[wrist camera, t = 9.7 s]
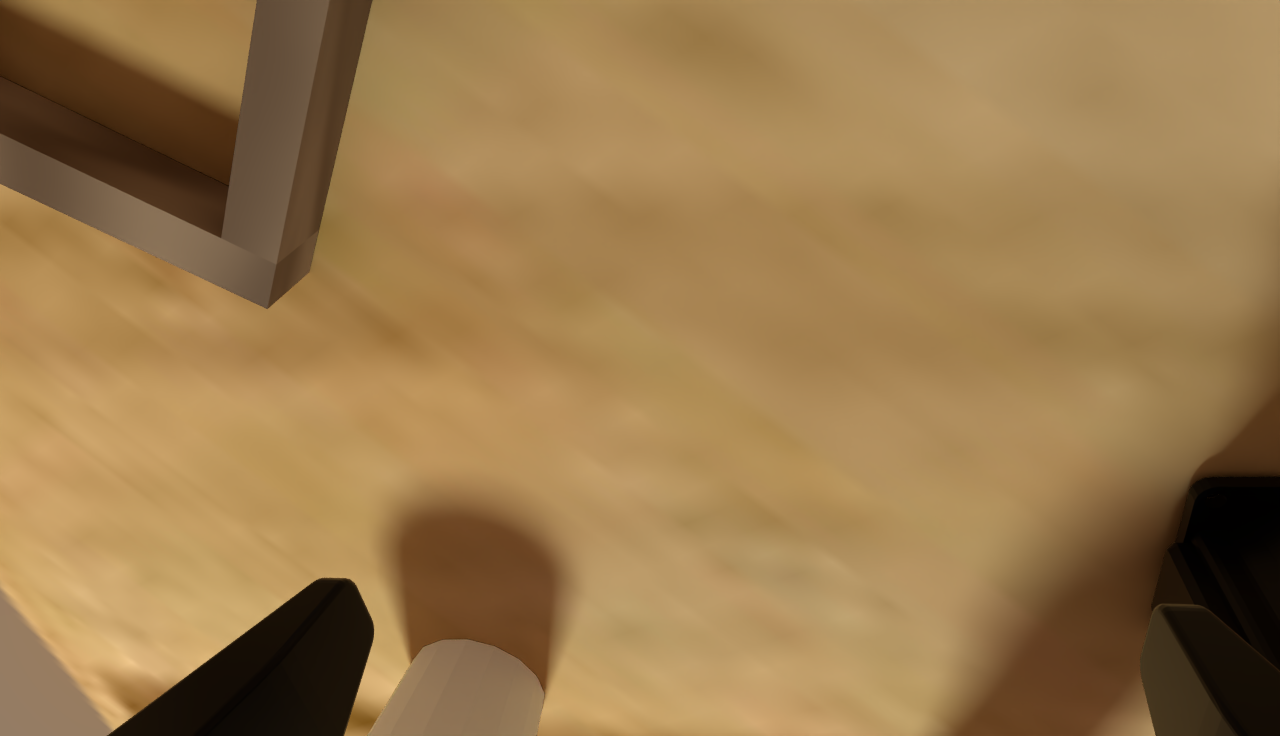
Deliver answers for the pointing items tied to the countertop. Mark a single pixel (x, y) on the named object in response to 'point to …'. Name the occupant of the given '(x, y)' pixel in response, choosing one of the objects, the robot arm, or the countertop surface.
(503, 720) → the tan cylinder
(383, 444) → the countertop surface
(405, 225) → the countertop surface
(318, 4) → the brown flat square frame
